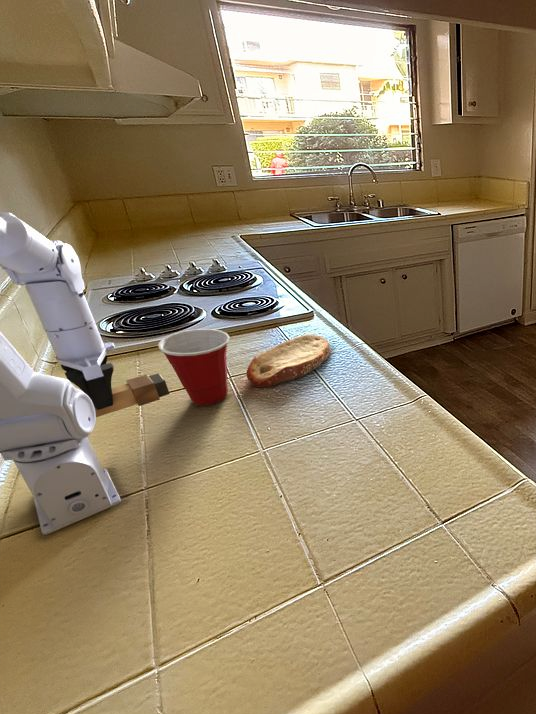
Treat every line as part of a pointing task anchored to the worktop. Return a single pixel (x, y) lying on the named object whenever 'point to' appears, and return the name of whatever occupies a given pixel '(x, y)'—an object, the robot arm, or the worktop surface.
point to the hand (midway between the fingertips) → (103, 403)
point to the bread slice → (288, 361)
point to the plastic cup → (199, 363)
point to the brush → (136, 393)
